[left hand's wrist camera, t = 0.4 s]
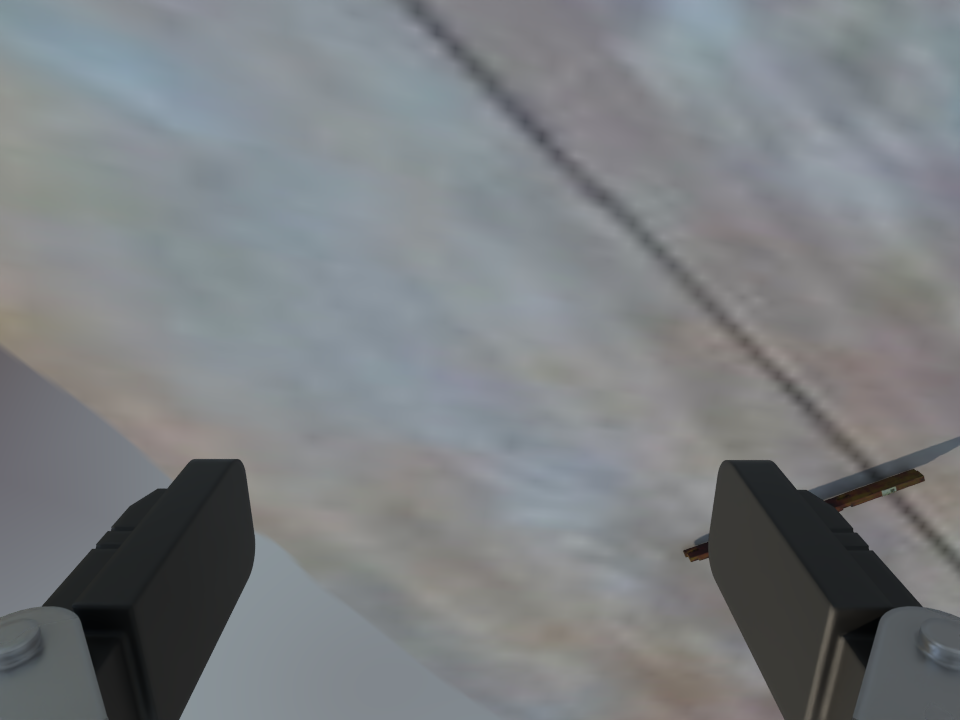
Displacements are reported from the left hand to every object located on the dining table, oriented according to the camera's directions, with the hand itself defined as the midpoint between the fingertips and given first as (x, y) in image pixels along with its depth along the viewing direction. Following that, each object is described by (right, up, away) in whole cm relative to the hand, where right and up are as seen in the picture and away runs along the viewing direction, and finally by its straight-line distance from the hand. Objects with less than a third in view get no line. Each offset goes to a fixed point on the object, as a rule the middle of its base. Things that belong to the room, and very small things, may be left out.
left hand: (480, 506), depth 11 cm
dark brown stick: (+20, -7, +32) cm, 38 cm away
